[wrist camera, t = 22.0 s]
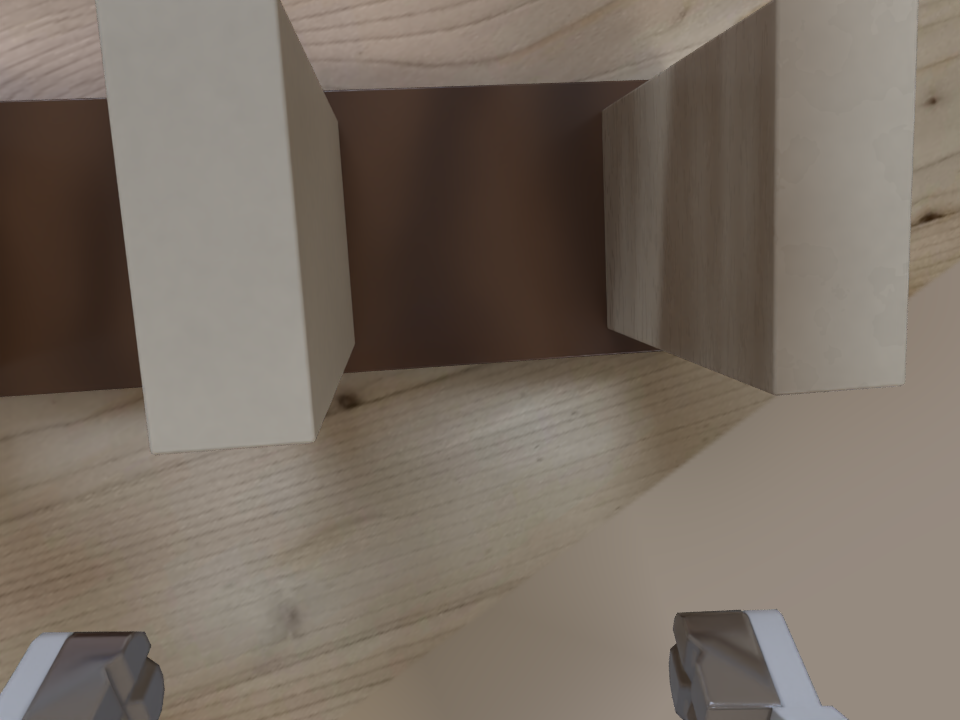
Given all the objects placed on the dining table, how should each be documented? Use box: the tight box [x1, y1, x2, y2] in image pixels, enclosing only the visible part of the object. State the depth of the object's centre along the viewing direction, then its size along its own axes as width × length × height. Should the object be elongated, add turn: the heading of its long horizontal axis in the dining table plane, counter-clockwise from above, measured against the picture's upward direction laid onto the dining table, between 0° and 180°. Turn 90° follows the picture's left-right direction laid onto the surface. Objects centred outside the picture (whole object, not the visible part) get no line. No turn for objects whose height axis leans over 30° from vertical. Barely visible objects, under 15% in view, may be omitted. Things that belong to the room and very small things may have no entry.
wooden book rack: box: [0, 0, 919, 397], centre depth 21 cm, size 28×10×14 cm, turn 93°
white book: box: [95, 0, 355, 455], centre depth 20 cm, size 3×8×14 cm, turn 3°
